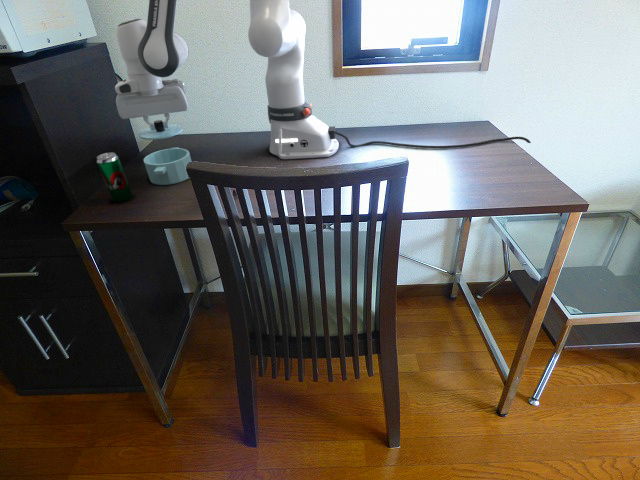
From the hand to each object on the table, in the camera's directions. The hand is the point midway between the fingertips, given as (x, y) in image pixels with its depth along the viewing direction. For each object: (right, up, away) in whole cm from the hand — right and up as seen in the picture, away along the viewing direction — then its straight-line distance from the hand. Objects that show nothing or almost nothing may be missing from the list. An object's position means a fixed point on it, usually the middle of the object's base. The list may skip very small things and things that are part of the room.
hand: (160, 128), depth 122 cm
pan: (+7, -16, -9) cm, 20 cm away
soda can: (-1, -24, -20) cm, 32 cm away
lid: (0, -1, +1) cm, 1 cm away
